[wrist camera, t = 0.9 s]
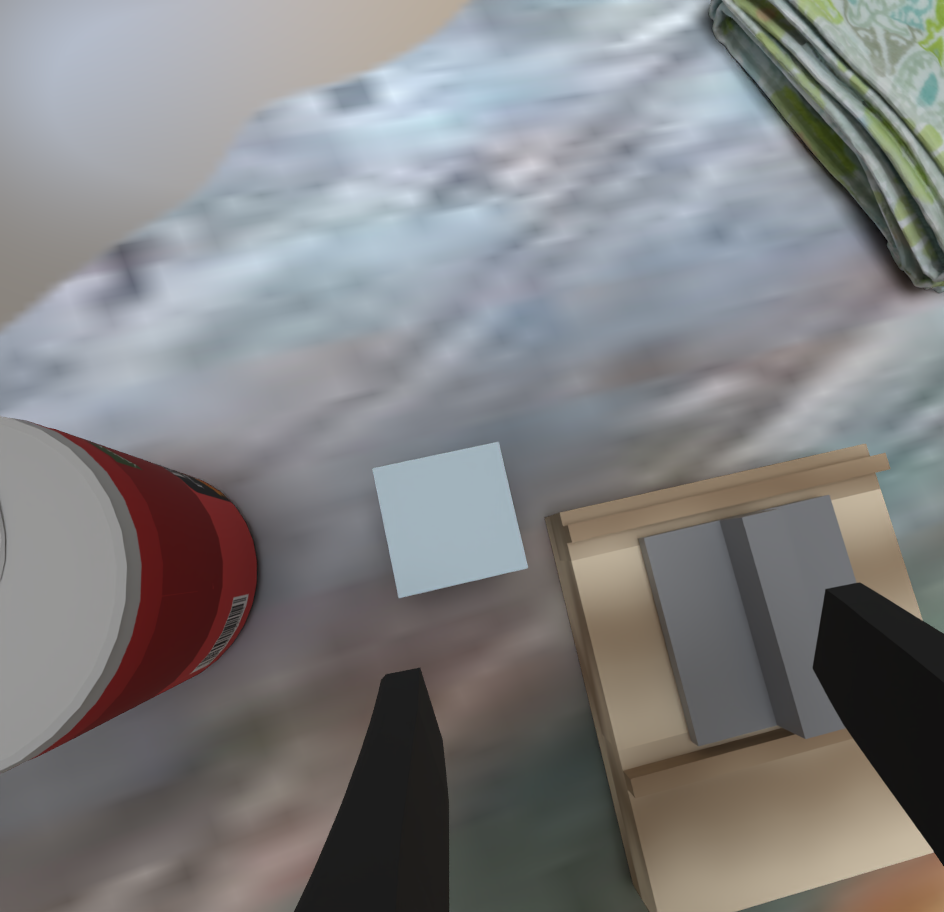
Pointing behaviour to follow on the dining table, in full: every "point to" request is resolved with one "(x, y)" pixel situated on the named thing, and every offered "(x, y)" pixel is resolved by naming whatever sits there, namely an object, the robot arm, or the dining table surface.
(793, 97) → the towel
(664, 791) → the pedestal
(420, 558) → the block
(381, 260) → the dining table surface
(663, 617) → the cover
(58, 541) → the canned food
